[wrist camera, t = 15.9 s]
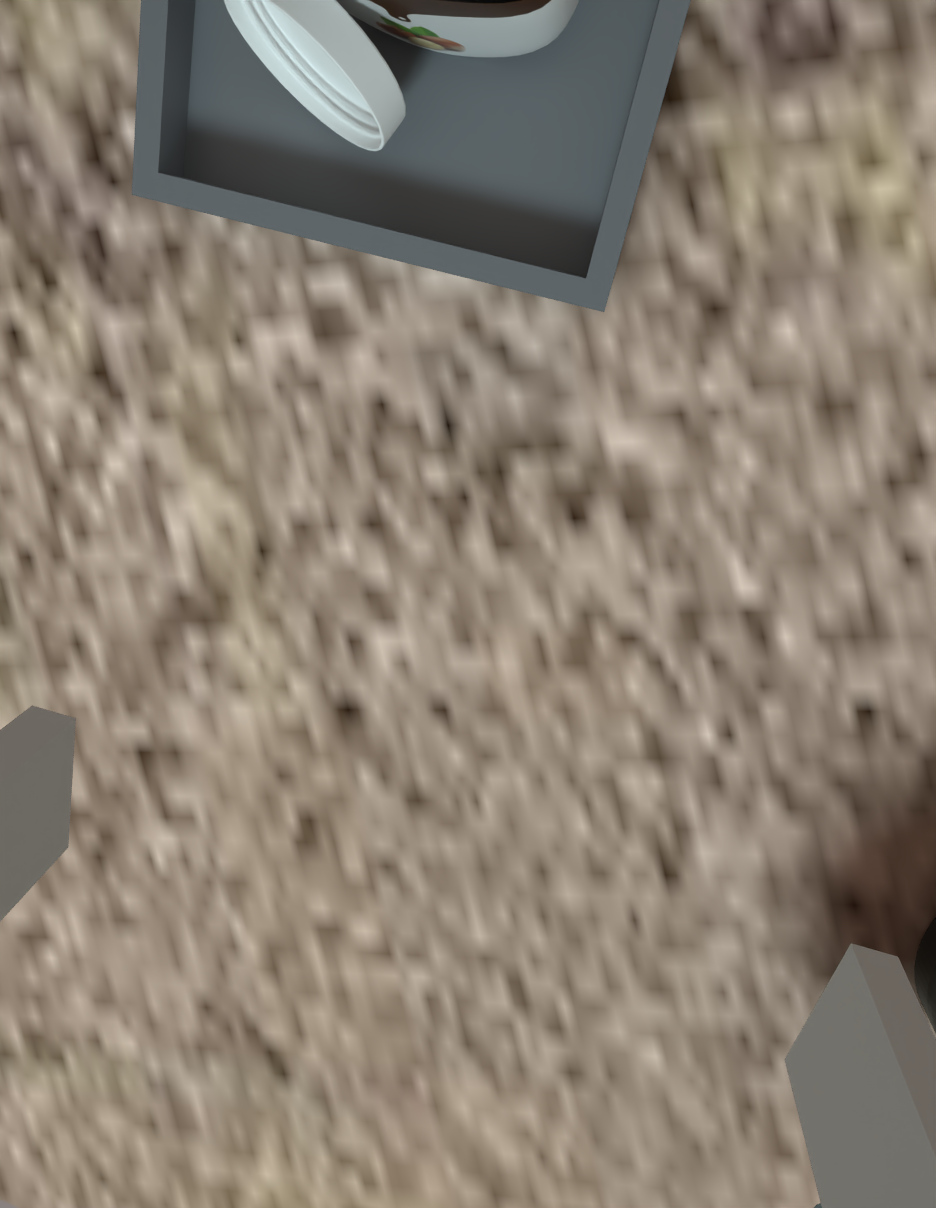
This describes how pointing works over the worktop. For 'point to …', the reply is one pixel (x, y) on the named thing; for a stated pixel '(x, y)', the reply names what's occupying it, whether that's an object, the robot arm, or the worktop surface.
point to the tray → (420, 145)
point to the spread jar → (355, 66)
